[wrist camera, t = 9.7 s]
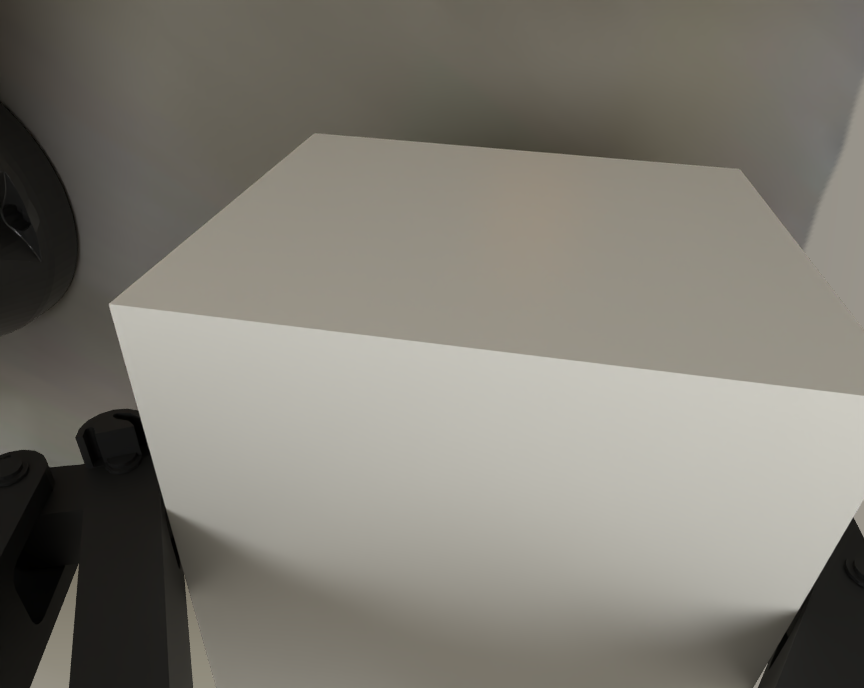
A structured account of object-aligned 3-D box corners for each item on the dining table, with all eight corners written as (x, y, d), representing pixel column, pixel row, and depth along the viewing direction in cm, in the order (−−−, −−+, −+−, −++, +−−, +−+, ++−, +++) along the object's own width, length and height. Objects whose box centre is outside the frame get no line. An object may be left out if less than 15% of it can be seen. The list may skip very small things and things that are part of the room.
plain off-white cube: (642, 483, 20) (691, 792, 13) (334, 439, 21) (219, 700, 14) (740, 168, 15) (920, 403, 7) (314, 132, 16) (108, 304, 9)
